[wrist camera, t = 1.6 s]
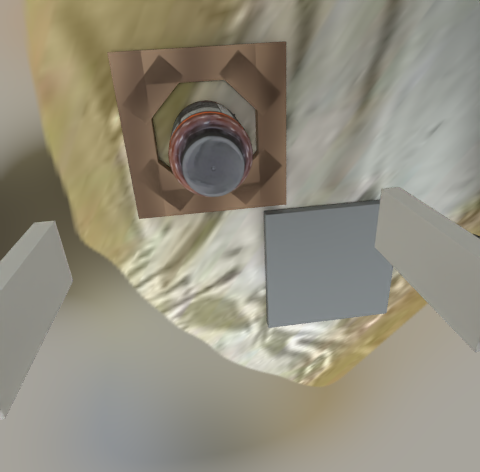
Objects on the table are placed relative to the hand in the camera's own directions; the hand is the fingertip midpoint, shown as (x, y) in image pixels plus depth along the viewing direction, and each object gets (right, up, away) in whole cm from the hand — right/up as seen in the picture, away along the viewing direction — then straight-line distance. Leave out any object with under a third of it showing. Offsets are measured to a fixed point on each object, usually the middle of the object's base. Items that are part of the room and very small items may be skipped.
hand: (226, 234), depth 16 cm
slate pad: (+10, -3, +26) cm, 28 cm away
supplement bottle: (-2, +9, +19) cm, 21 cm away
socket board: (-2, +9, +18) cm, 21 cm away
